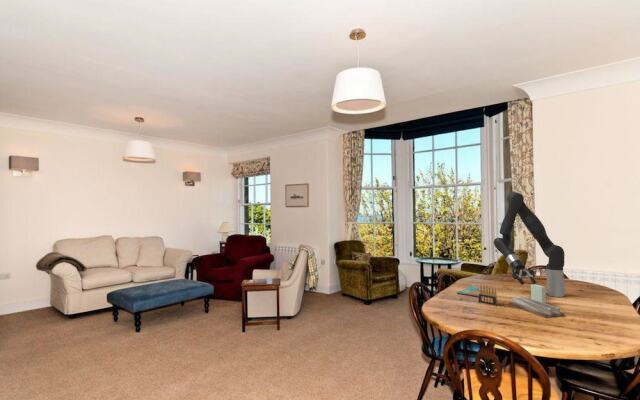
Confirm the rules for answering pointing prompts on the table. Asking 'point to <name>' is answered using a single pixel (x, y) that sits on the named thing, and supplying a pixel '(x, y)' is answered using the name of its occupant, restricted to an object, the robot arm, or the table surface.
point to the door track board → (536, 307)
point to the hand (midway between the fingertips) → (529, 283)
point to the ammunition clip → (487, 294)
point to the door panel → (538, 293)
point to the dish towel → (470, 292)
